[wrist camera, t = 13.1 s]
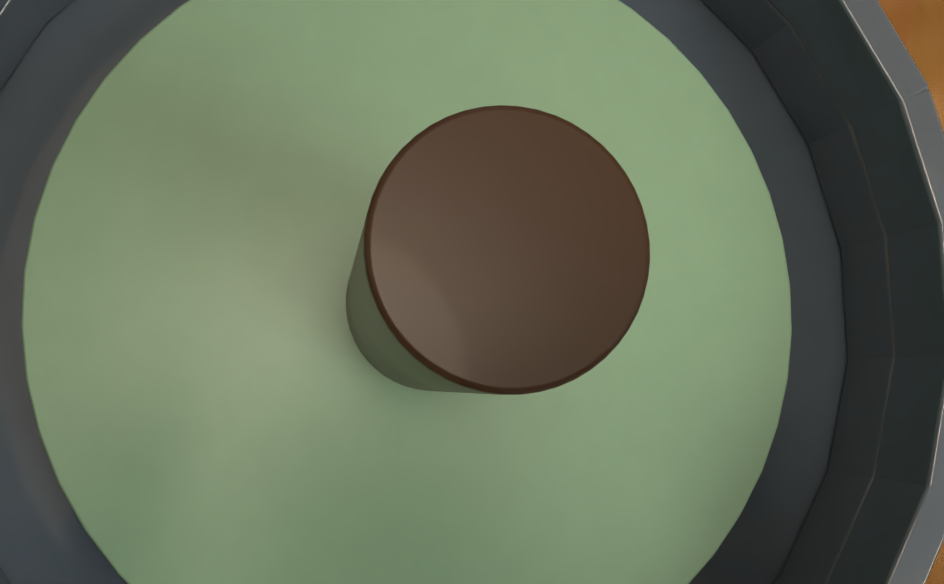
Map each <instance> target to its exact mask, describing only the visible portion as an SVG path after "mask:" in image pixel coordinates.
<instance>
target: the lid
mask: <svg viewBox="0 0 944 584" xmlns="http://www.w3.org/2000/svg"><path fill="white" fill-rule="evenodd" d="M21 330H22V341H23V352H24V363H25V374H26V382H27V386H28V390H29V394H30V399H31V403H32V407H33V411H34V416H35V420H36V424H37V428H38V432H39V435H40V438H41V440H42V443H43V445H44V448H45V450H46V453H47V456H48V458H49V461H50V463H51V466H52V468H53V471H54V473H55V476H56V479H57V481H58V484H59V485H60V487H61V489H62V491H63V493H64V494H65V496H66V498H67V500H68V501H69V503H70V505H71V507H72V508H73V510H74V512H75V514H76V516H77V517H78V519H79V521H80V523H81V524H82V526H83V528H84V530H85V531H86V533H87V534H88V535H89V537H90V538H91V539H92V541H93V542H94V543H95V545H96V546H97V547H98V548H99V550H100V551H101V552H102V554H103V555H104V556H105V558H106V559H107V560H108V561H109V563H110V564H111V565H112V567H113V568H114V569H115V571H116V572H117V573H118V574H119V576H120V577H121V578H122V579H123V580H125V581H126V582H127V583H128V584H689V583H690V582H691V581H692V580H693V578H694V577H695V576H696V575H697V574H698V573H699V572H700V570H701V569H702V568H703V567H704V566H705V565H706V563H707V562H708V561H709V560H710V559H711V558H712V557H713V555H714V554H715V553H716V551H717V550H718V548H719V547H720V545H721V544H722V542H723V540H724V539H725V537H726V536H727V534H728V533H729V531H730V530H731V528H732V527H733V525H734V524H735V522H736V521H737V519H738V518H739V516H740V515H741V513H742V511H743V509H744V507H745V505H746V503H747V501H748V499H749V497H750V495H751V493H752V491H753V489H754V487H755V485H756V483H757V481H758V479H759V477H760V474H761V472H762V470H763V467H764V465H765V462H766V459H767V456H768V453H769V450H770V447H771V444H772V441H773V438H774V436H775V433H776V430H777V427H778V423H779V418H780V414H781V409H782V404H783V399H784V395H785V390H786V385H787V380H788V371H789V359H790V347H791V335H792V324H791V298H790V282H789V275H788V269H787V263H786V257H785V250H784V244H783V238H782V235H781V231H780V228H779V224H778V221H777V217H776V214H775V210H774V207H773V203H772V200H771V196H770V193H769V191H768V188H767V186H766V184H765V181H764V179H763V177H762V174H761V172H760V169H759V167H758V165H757V162H756V160H755V158H754V155H753V153H752V151H751V149H750V147H749V145H748V144H747V142H746V140H745V138H744V137H743V135H742V133H741V131H740V130H739V128H738V126H737V124H736V123H735V121H734V119H733V117H732V116H731V114H730V112H729V110H728V109H727V108H726V106H725V105H724V104H723V102H722V101H721V100H720V98H719V97H718V96H717V94H716V93H715V91H714V90H713V89H712V87H711V86H710V85H709V83H708V82H707V81H706V79H705V78H704V77H703V75H702V74H701V73H700V72H699V71H698V70H697V68H696V67H695V66H694V65H693V64H692V63H691V62H690V61H689V60H688V59H687V58H686V57H685V56H684V55H683V54H682V53H681V52H680V51H679V49H678V48H677V47H676V46H675V45H674V44H673V43H672V42H671V41H670V40H669V39H668V38H667V37H666V36H664V35H663V34H662V33H661V32H660V31H658V30H657V29H656V28H655V27H653V26H652V25H651V24H650V23H649V22H647V21H646V20H645V19H644V18H643V17H641V16H640V15H639V14H638V13H637V12H635V11H634V10H633V9H632V8H630V7H628V6H627V5H625V4H624V3H622V2H621V1H619V0H189V1H188V2H186V3H184V4H183V5H181V6H180V7H178V8H177V9H176V10H175V11H173V12H172V13H171V14H170V15H169V16H167V17H166V18H165V19H164V20H163V21H161V22H160V23H159V24H158V25H157V26H155V27H154V28H153V29H152V30H151V31H149V32H148V33H147V34H146V35H145V36H143V37H142V38H141V39H140V40H139V41H138V42H137V43H136V44H135V45H134V46H133V47H132V48H131V50H130V51H129V52H128V53H127V54H126V55H125V56H124V57H123V58H122V59H121V61H120V62H119V63H118V64H117V65H116V66H115V67H114V68H113V69H112V70H111V71H110V73H109V74H108V75H107V76H106V77H105V78H104V79H103V81H102V82H101V84H100V85H99V87H98V88H97V90H96V91H95V92H94V94H93V95H92V97H91V98H90V100H89V101H88V103H87V104H86V105H85V107H84V108H83V110H82V111H81V113H80V114H79V116H78V117H77V119H76V120H75V122H74V124H73V126H72V127H71V129H70V131H69V133H68V135H67V137H66V139H65V141H64V143H63V145H62V147H61V149H60V151H59V153H58V155H57V157H56V159H55V161H54V163H53V165H52V167H51V170H50V173H49V175H48V178H47V181H46V184H45V187H44V190H43V193H42V196H41V199H40V202H39V205H38V208H37V211H36V214H35V216H34V220H33V225H32V231H31V236H30V241H29V246H28V251H27V257H26V262H25V267H24V276H23V296H22V316H21Z"/></svg>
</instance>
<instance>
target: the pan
mask: <svg viewBox="0 0 944 584" xmlns="http://www.w3.org/2000/svg"><path fill="white" fill-rule="evenodd" d="M188 1H189V0H0V584H128V583H127V582H126V581H125V580H123V579H122V578H121V577H120V576H119V574H118V573H117V572H116V571H115V569H114V568H113V567H112V565H111V564H110V563H109V561H108V560H107V559H106V558H105V556H104V555H103V554H102V552H101V551H100V550H99V548H98V547H97V546H96V545H95V543H94V542H93V541H92V539H91V538H90V537H89V535H88V534H87V533H86V531H85V530H84V528H83V526H82V524H81V523H80V521H79V519H78V517H77V516H76V514H75V512H74V510H73V508H72V507H71V505H70V503H69V501H68V500H67V498H66V496H65V494H64V493H63V491H62V489H61V487H60V485H59V484H58V481H57V479H56V476H55V473H54V471H53V468H52V466H51V463H50V461H49V458H48V456H47V453H46V450H45V448H44V445H43V443H42V440H41V438H40V435H39V432H38V428H37V424H36V420H35V416H34V411H33V407H32V403H31V399H30V394H29V390H28V386H27V382H26V374H25V363H24V352H23V341H22V330H21V316H22V296H23V276H24V267H25V262H26V257H27V251H28V246H29V241H30V236H31V231H32V225H33V220H34V216H35V214H36V211H37V208H38V205H39V202H40V199H41V196H42V193H43V190H44V187H45V184H46V181H47V178H48V175H49V173H50V170H51V167H52V165H53V163H54V161H55V159H56V157H57V155H58V153H59V151H60V149H61V147H62V145H63V143H64V141H65V139H66V137H67V135H68V133H69V131H70V129H71V127H72V126H73V124H74V122H75V120H76V119H77V117H78V116H79V114H80V113H81V111H82V110H83V108H84V107H85V105H86V104H87V103H88V101H89V100H90V98H91V97H92V95H93V94H94V92H95V91H96V90H97V88H98V87H99V85H100V84H101V82H102V81H103V79H104V78H105V77H106V76H107V75H108V74H109V73H110V71H111V70H112V69H113V68H114V67H115V66H116V65H117V64H118V63H119V62H120V61H121V59H122V58H123V57H124V56H125V55H126V54H127V53H128V52H129V51H130V50H131V48H132V47H133V46H134V45H135V44H136V43H137V42H138V41H139V40H140V39H141V38H142V37H143V36H145V35H146V34H147V33H148V32H149V31H151V30H152V29H153V28H154V27H155V26H157V25H158V24H159V23H160V22H161V21H163V20H164V19H165V18H166V17H167V16H169V15H170V14H171V13H172V12H173V11H175V10H176V9H177V8H178V7H180V6H181V5H183V4H184V3H186V2H188ZM619 1H621V2H622V3H624V4H625V5H627V6H628V7H630V8H632V9H633V10H634V11H635V12H637V13H638V14H639V15H640V16H641V17H643V18H644V19H645V20H646V21H647V22H649V23H650V24H651V25H652V26H653V27H655V28H656V29H657V30H658V31H660V32H661V33H662V34H663V35H664V36H666V37H667V38H668V39H669V40H670V41H671V42H672V43H673V44H674V45H675V46H676V47H677V48H678V49H679V51H680V52H681V53H682V54H683V55H684V56H685V57H686V58H687V59H688V60H689V61H690V62H691V63H692V64H693V65H694V66H695V67H696V68H697V70H698V71H699V72H700V73H701V74H702V75H703V77H704V78H705V79H706V81H707V82H708V83H709V85H710V86H711V87H712V89H713V90H714V91H715V93H716V94H717V96H718V97H719V98H720V100H721V101H722V102H723V104H724V105H725V106H726V108H727V109H728V110H729V112H730V114H731V116H732V117H733V119H734V121H735V123H736V124H737V126H738V128H739V130H740V131H741V133H742V135H743V137H744V138H745V140H746V142H747V144H748V145H749V147H750V149H751V151H752V153H753V155H754V158H755V160H756V162H757V165H758V167H759V169H760V172H761V174H762V177H763V179H764V181H765V184H766V186H767V188H768V191H769V193H770V196H771V200H772V203H773V207H774V210H775V214H776V217H777V221H778V224H779V228H780V231H781V235H782V238H783V244H784V250H785V257H786V263H787V269H788V275H789V282H790V298H791V324H792V335H791V347H790V359H789V371H788V380H787V385H786V390H785V395H784V399H783V404H782V409H781V414H780V418H779V423H778V427H777V430H776V433H775V436H774V438H773V441H772V444H771V447H770V450H769V453H768V456H767V459H766V462H765V465H764V467H763V470H762V472H761V474H760V477H759V479H758V481H757V483H756V485H755V487H754V489H753V491H752V493H751V495H750V497H749V499H748V501H747V503H746V505H745V507H744V509H743V511H742V513H741V515H740V516H739V518H738V519H737V521H736V522H735V524H734V525H733V527H732V528H731V530H730V531H729V533H728V534H727V536H726V537H725V539H724V540H723V542H722V544H721V545H720V547H719V548H718V550H717V551H716V553H715V554H714V555H713V557H712V558H711V559H710V560H709V561H708V562H707V563H706V565H705V566H704V567H703V568H702V569H701V570H700V572H699V573H698V574H697V575H696V576H695V577H694V578H693V580H692V581H691V582H690V583H689V584H925V583H926V580H927V578H928V576H929V573H930V571H931V569H932V566H933V564H934V561H935V559H936V557H937V554H938V552H939V550H940V547H941V545H942V543H943V540H944V132H943V129H942V126H941V123H940V120H939V117H938V114H937V110H936V107H935V104H934V101H933V98H932V95H931V92H930V91H929V90H928V89H927V88H928V84H927V82H926V80H925V79H924V77H923V75H922V74H921V72H920V70H919V69H918V67H917V65H916V64H915V62H914V60H913V59H912V57H911V55H910V54H909V52H908V50H907V49H906V47H905V45H904V44H903V42H902V40H901V39H900V37H899V35H898V34H897V32H896V30H895V29H894V27H893V25H892V24H891V22H890V20H889V19H888V17H887V15H886V14H885V12H884V10H883V9H882V7H881V5H880V4H879V2H878V0H619Z"/></svg>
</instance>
